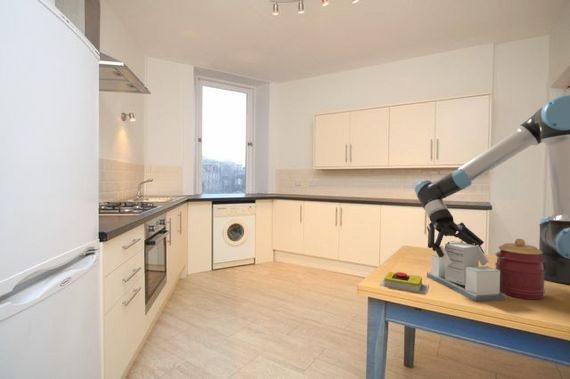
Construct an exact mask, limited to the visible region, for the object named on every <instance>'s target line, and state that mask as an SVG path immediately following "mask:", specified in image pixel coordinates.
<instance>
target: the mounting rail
mask: <svg viewBox="0 0 570 379" xmlns="http://www.w3.org/2000/svg"><path fill="white" fill-rule="evenodd" d="M426 277H427V278H429V279H431V280H432V281H434V282H436V283H438V284H441V285H442V286H444V287H446V288H448V289H450V290H452V291H454V292H456V293H458V294H460V295H462V296H464V297H466V298H467V299H469V300H471V299H472V301H474V302H477V303H478V302H492V301H493V300H495V301H505V300H506V294H505V293H502V292H500V291H499V294H490V295H477V294H475V293H472V292H470V291H468V290H466V289H465V285H461V284H457V283H454V282H451V281H448V280H446V279H445V277H439V276H437V275H435V274H433V273H431V271H426Z"/></svg>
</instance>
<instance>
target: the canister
mask: <svg viewBox="0 0 570 379" xmlns="http://www.w3.org/2000/svg"><path fill="white" fill-rule="evenodd" d="M498 249H499V251H497V252H495V253H494V254H495V256H496V257H497V258H496V262H495V263H494V265H495V269H497V270H500V292H502V293H505V295H506V296H510V297H515V298H520V299H526V300H541V299H544V296H545V294H546V293H545V291H546V288H545V269H544V266H543V263H544V262H545V261H546V259H545V258H543V257H542V256H541V254H542V253H543V252H542V251H541V250H539V248H538V247H537V246H534V245H531V244H526V242H525V240H524V239H522V238H517V239H515V241H514V243H512V242H507V243H503V244H502V245H499V246H498Z"/></svg>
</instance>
